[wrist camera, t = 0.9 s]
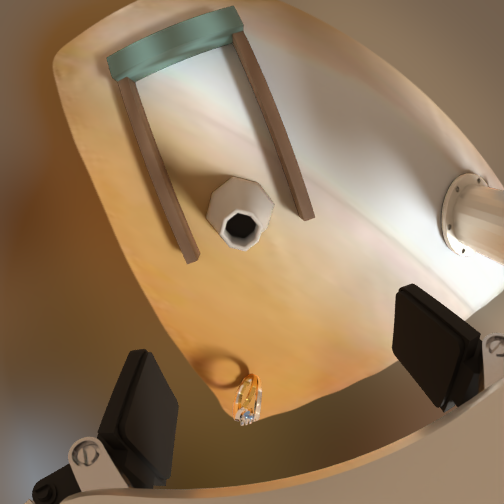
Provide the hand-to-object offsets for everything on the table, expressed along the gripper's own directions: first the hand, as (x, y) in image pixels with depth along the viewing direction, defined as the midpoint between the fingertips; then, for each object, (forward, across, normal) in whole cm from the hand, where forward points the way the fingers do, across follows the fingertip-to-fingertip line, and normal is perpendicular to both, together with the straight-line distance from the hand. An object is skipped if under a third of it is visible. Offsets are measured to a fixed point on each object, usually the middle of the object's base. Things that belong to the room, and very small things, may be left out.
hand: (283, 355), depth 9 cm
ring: (+23, +4, +22) cm, 32 cm away
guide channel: (+23, +1, -11) cm, 25 cm away
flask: (+23, 0, -2) cm, 23 cm away
